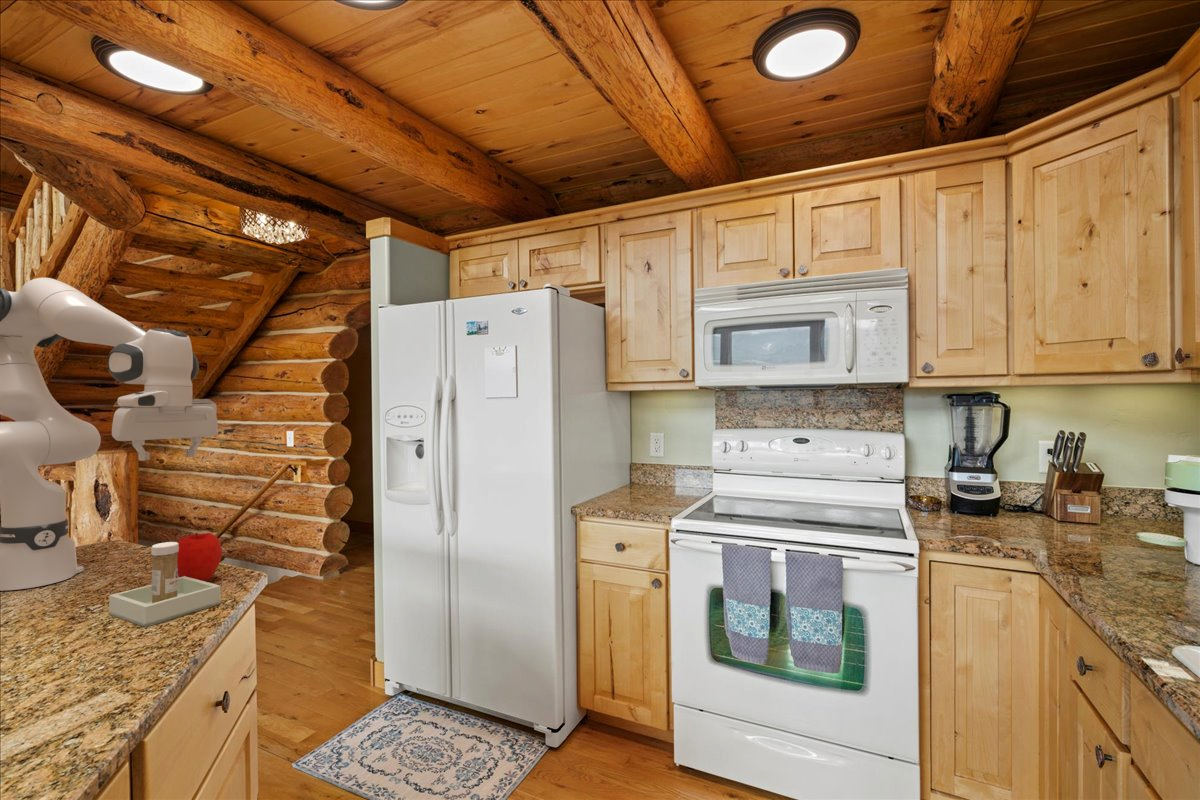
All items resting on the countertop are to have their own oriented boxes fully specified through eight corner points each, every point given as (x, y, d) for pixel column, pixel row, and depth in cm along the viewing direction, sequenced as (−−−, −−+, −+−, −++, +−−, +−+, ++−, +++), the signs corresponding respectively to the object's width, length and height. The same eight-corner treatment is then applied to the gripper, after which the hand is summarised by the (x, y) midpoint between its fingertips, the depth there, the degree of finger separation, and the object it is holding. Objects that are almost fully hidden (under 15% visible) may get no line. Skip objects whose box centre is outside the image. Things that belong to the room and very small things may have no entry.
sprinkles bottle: (178, 608, 117) (179, 544, 117) (150, 613, 114) (151, 547, 114) (177, 601, 121) (178, 540, 121) (150, 606, 118) (151, 543, 118)
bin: (109, 614, 115) (109, 595, 115) (184, 593, 128) (184, 576, 128) (145, 627, 109) (145, 607, 109) (220, 604, 121) (220, 585, 121)
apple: (204, 573, 142) (204, 526, 142) (231, 578, 139) (232, 529, 139) (162, 585, 133) (162, 534, 133) (190, 591, 129) (190, 538, 129)
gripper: (209, 398, 139) (208, 453, 139) (108, 398, 121) (107, 461, 121) (224, 399, 137) (223, 455, 137) (123, 398, 118) (122, 463, 118)
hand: (168, 458), depth 129 cm, fingers open, 8 cm apart
